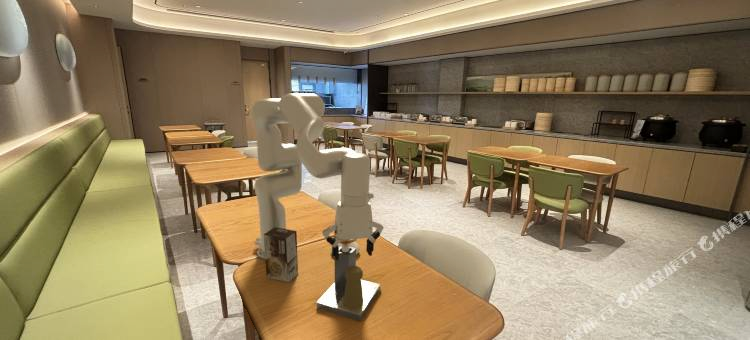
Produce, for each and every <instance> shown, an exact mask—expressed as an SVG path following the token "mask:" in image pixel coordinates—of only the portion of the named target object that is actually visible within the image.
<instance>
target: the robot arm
mask: <svg viewBox="0 0 750 340" xmlns="http://www.w3.org/2000/svg"><path fill="white" fill-rule="evenodd" d="M325 108H326V106H325V103H324V100H323V98H322V97H321V96H319V95H318V94H316V93H310V92H309V93H307V92H305V93H304V92H300V93H299V92H293V93H292V92H291V93H286V94H285V95H283V96H281V98H276V97H275V98H271V97H269V98H261V99H257V101H255V102H254V103H253V105H252V107H251V119H252V123H253V126H254V128H255V132H256V146H257V147H256V149H257V164H258V167H259V169H260V170H261V171H263V172H275V173H268V174H264V175H262V176H259V177H258V178H257V179H255V182H254V192H255V195H256V199H257V204H258V205H257V206H258V216H259V217H258V218H259V232H260V237H256V239H255V241H254V242H253V243H254V245H256V246H258V249H257V251H256V252H257V257H259V258H260V259H262V260H265V248H264V234H265V233H267V232H268V231H270V230H271V229H273V228H274V227H276V228H282V229H287V222H286V221H287V220H286V208H285V206H284V205H283V204H282V202H281V201H280V199H281V198H285V197H289V196H293V195H296V194H298V193H299V192H300V191H301V190H302V183H303V175H302V173H303V166H304V168H305V169H306V170H307V172H308V173H309V174H310V175H311V176H313V177H314V178H316V179H327V178H331V177H335V176H340V177H341V178H340V179H341V180H340V201H338V203H337V204H336V208H335V209H336V210H335V215H334V223H333V224H332V225H330V226H329V227H326V228H325V229H323V230H321V231H322V232H321V233H322V235H323V237H324V239H325V240H326V241H327V243H329V244H330V245H331V248H332V251H331V255H332V257H334V260H335V259H336V260H338V259H339V247H338V244H339V243H340V242H341V241H342V240H352V239H357V240H360V239H366V238H367V239H366V250H365V251H366V253H367V254H368V256H369V257H371V256H372V255H373V252H374V249H375V247H374V245H375V243H376V241H377V239H378V238H379V237H380V236H381V233H382V232H383V230H384V226H383V224H380V223H379V222H376V221H374V220H373V212H372V204H371V202H370V200H371V199H374V197H375V195H374V193H371V192H370V175H371V174H370V173H371V172H370V171H371V158H370V156H369V155H368V154H366V153H361V152H356V150H353V149H352V148H350V147H349V148H348V147H335V148H334V147H333V148H328V149H321V150H318V148H317V147H316V146H315V145H314V144H313V142H315V141H316V140H317V139H319V137H321V135H322V133H323V132H324V131H325V122H324V121H323V119H322V117H323V116H324V113H325V111H326V110H325ZM277 124H289V125H290V126H291V127H292V129H293V130H294V131H295V133H296V134H297V135H298V137H297V141H296V145H295V144H294V143H282V142H283V140H282V138H283V137H282V132H281V130H280V127H278V126H277ZM302 165H303V166H302ZM281 170H285V171H281ZM277 171H281V172H277ZM373 228H375V231H374V232H373ZM334 232H335V234H336V235H335V236H334V235H333V237H332V236H330V234H332V233H334Z"/></svg>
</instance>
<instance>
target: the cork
mask: <svg viewBox="0 0 750 340" xmlns="http://www.w3.org/2000/svg"><path fill="white" fill-rule="evenodd" d="M363 275H364V272H363V270H362V268H361V267H359V266H358V265H356V266H350V267H348V268H347V269H346V271H345V278H346V280H347V281H346V287H345V294H344V301H343V304H344V306H345V307H347V308H350V309H356V308H359V307H361V306H362V305H363V303H364V300H363V292H362V284H361V279H362V280H363Z"/></svg>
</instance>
